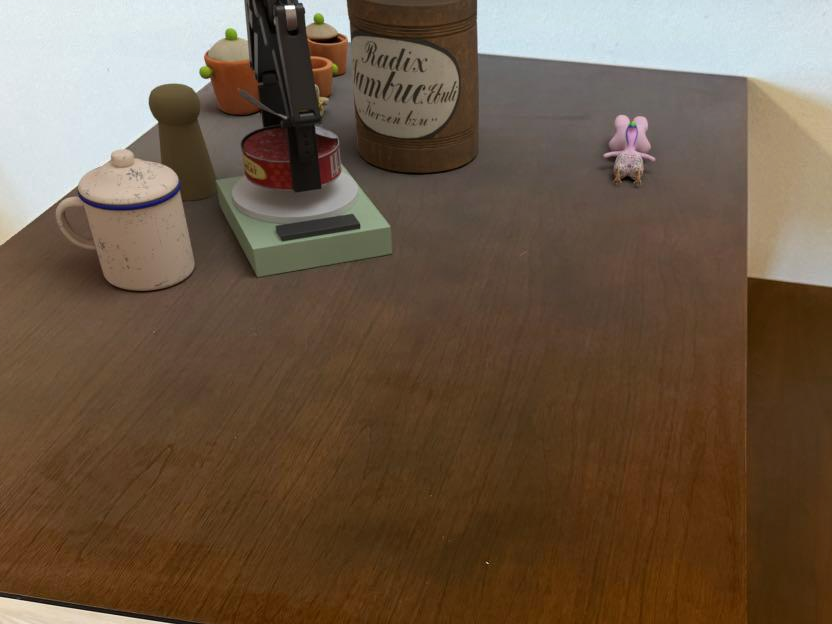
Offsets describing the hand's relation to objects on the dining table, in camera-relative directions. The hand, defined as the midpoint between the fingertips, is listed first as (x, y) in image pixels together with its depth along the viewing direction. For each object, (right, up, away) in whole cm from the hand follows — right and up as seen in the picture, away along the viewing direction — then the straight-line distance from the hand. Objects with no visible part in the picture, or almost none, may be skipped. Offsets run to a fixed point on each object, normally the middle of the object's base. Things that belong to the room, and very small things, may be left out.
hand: (293, 168), depth 100 cm
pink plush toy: (+37, +8, +20) cm, 43 cm away
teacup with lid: (-14, -12, -5) cm, 19 cm away
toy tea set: (-8, +23, +33) cm, 41 cm away
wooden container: (+11, +10, +20) cm, 25 cm away
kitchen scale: (0, -5, +3) cm, 6 cm away
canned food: (0, 0, 0) cm, 0 cm away
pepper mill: (-14, +1, +9) cm, 17 cm away
